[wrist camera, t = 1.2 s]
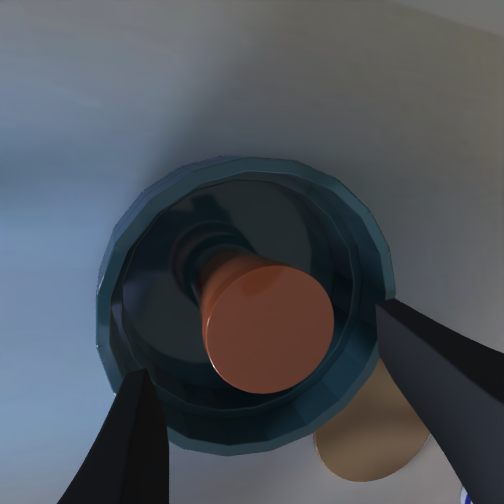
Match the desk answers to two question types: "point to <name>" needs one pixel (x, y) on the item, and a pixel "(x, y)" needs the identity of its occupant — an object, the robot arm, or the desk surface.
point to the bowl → (187, 310)
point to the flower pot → (262, 320)
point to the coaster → (371, 432)
